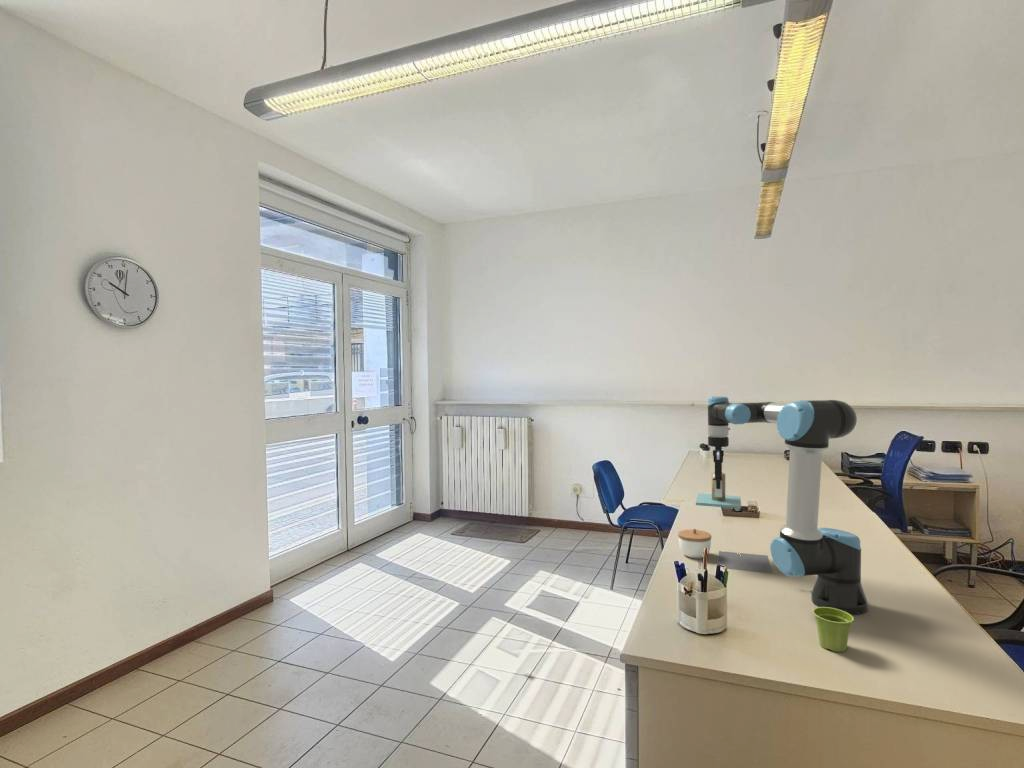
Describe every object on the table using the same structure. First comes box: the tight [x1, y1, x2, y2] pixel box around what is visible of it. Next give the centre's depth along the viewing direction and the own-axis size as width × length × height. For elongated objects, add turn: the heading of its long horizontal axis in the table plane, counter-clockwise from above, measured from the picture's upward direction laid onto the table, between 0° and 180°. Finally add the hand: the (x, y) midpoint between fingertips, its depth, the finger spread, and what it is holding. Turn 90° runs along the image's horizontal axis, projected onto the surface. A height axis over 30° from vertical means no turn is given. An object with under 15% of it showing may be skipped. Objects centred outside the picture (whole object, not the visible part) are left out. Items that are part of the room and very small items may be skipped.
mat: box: [718, 550, 773, 574], centre depth 208 cm, size 20×18×1 cm
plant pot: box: [812, 606, 855, 653], centre depth 144 cm, size 9×9×9 cm
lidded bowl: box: [677, 528, 712, 559], centre depth 216 cm, size 13×13×11 cm
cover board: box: [695, 472, 742, 510], centre depth 212 cm, size 16×16×11 cm
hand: (718, 495), depth 212 cm, fingers closed on cover board, 5 cm apart
